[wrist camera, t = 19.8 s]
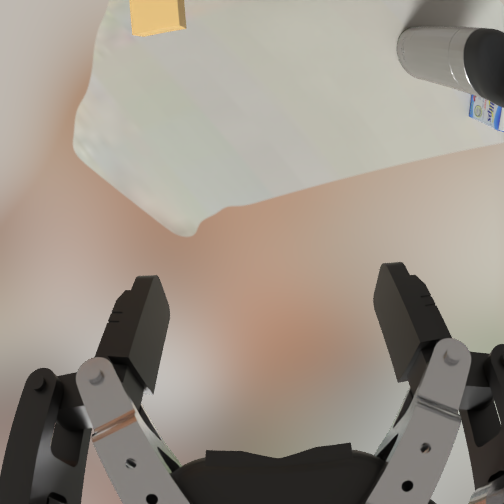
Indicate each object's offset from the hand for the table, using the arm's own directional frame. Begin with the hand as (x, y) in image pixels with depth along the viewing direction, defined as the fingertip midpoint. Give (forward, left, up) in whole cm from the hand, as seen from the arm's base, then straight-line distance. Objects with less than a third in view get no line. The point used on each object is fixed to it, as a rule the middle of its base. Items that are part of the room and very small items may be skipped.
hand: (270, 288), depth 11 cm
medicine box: (-42, -4, -39) cm, 58 cm away
